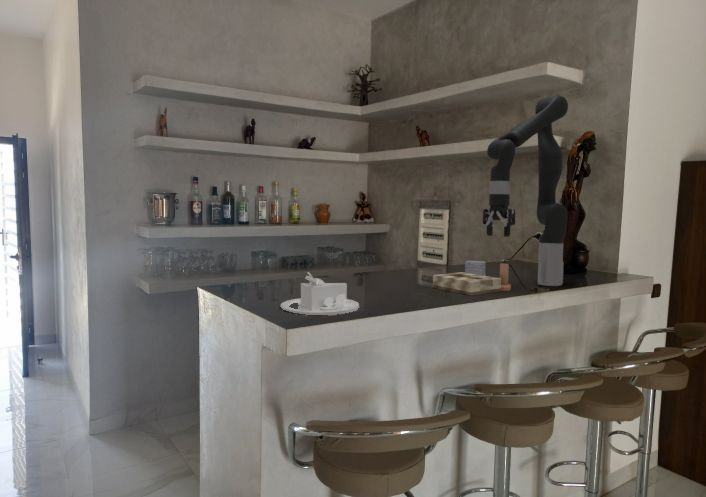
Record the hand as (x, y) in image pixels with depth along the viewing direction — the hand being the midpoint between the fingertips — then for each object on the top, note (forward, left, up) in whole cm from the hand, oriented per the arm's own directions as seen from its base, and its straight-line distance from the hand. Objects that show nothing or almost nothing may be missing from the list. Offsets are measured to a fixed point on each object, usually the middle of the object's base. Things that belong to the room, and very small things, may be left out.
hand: (497, 236), depth 195 cm
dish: (+74, -8, -21) cm, 77 cm away
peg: (-2, +2, -21) cm, 21 cm away
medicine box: (-8, -18, -21) cm, 29 cm away
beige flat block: (+10, -6, -21) cm, 24 cm away
